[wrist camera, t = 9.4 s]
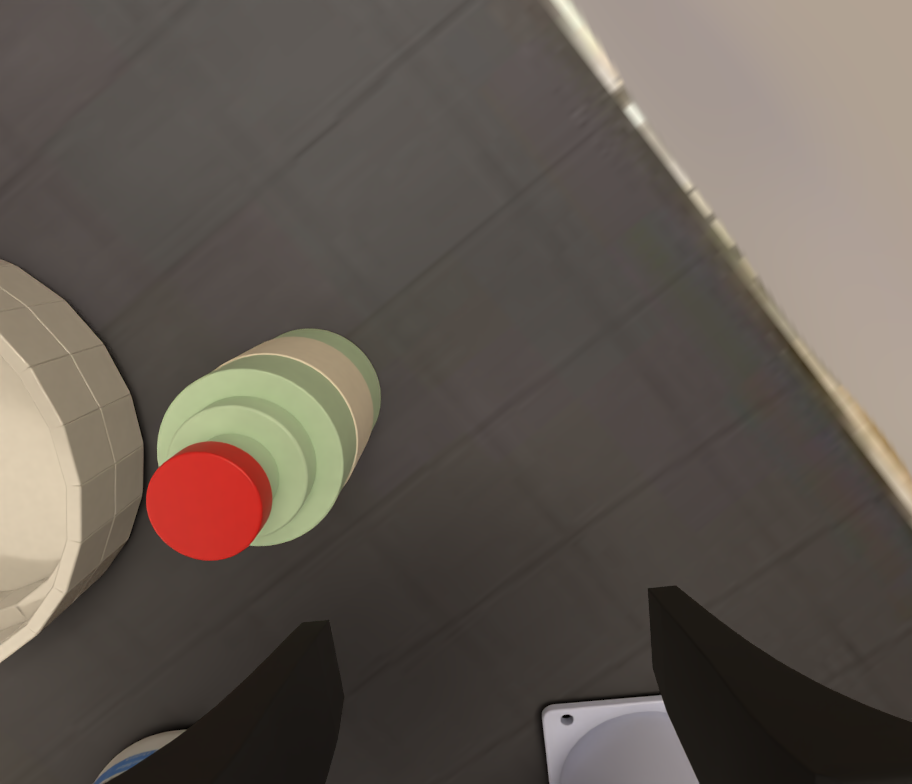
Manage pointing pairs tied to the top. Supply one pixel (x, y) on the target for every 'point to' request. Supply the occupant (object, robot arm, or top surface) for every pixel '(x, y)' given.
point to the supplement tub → (135, 754)
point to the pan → (58, 458)
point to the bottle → (262, 445)
